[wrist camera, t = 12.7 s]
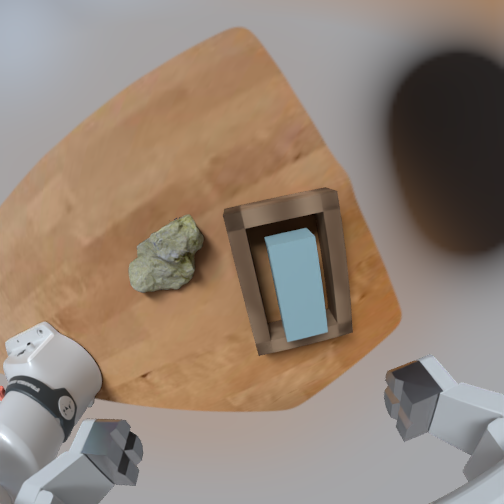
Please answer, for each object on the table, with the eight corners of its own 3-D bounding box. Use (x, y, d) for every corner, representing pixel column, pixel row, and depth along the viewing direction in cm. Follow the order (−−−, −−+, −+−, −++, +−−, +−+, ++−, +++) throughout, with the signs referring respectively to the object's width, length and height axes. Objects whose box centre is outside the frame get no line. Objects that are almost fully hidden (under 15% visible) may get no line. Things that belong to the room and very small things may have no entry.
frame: (256, 337, 43) (258, 355, 38) (224, 208, 37) (223, 215, 33) (342, 316, 42) (352, 332, 38) (325, 187, 37) (337, 191, 33)
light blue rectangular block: (264, 237, 35) (267, 246, 31) (306, 227, 35) (314, 236, 31) (282, 325, 38) (287, 342, 34) (319, 316, 38) (328, 332, 34)
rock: (139, 283, 41) (205, 292, 40) (117, 300, 35) (192, 313, 34) (136, 207, 38) (208, 211, 37) (112, 214, 32) (193, 219, 31)
